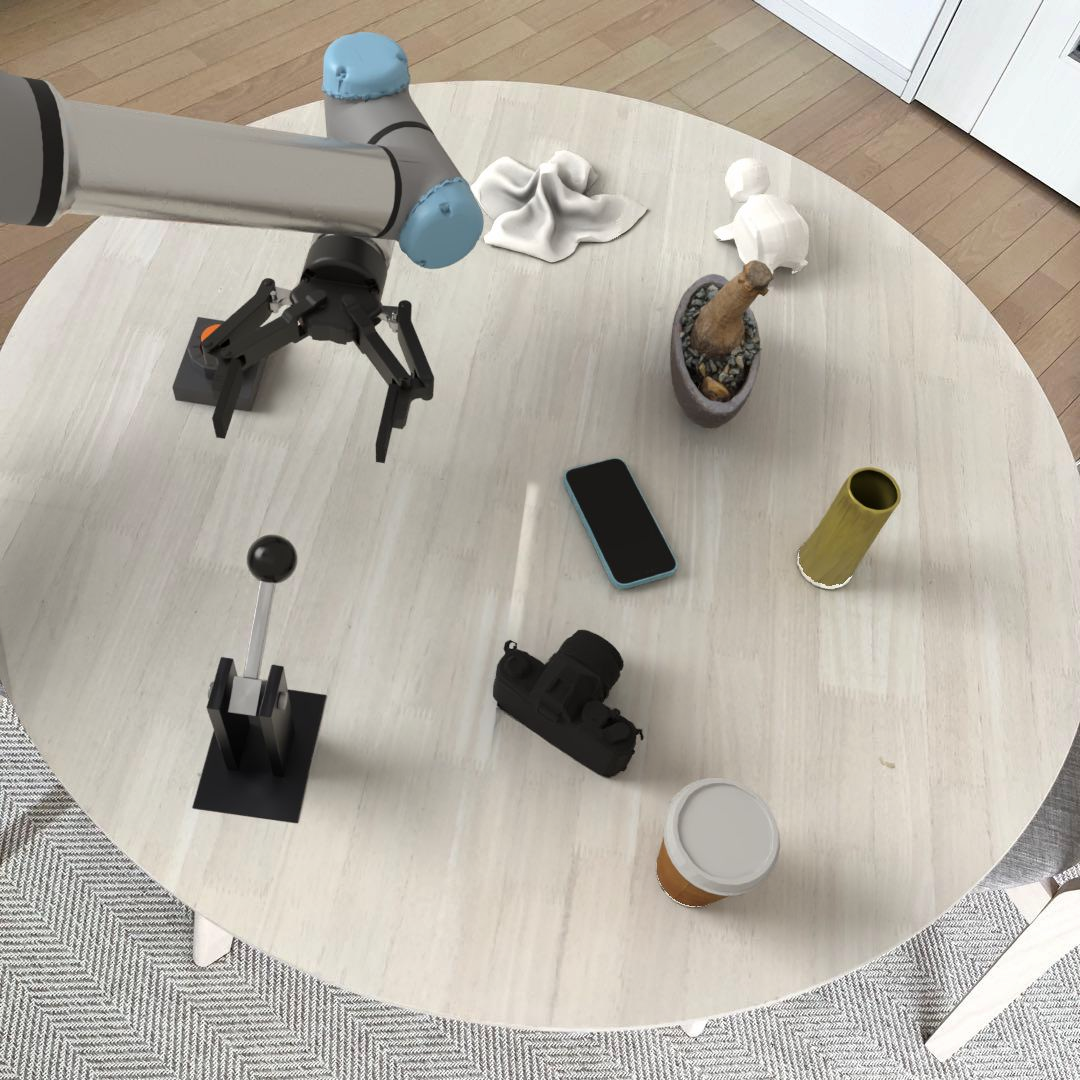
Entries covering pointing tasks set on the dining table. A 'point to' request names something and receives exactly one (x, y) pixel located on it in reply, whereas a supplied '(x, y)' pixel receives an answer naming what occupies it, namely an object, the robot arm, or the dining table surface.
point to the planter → (717, 345)
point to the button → (209, 331)
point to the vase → (849, 526)
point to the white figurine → (763, 220)
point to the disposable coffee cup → (716, 842)
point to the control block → (211, 373)
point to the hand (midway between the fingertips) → (299, 441)
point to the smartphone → (620, 523)
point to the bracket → (259, 749)
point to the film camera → (570, 700)
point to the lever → (261, 616)
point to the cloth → (546, 206)
